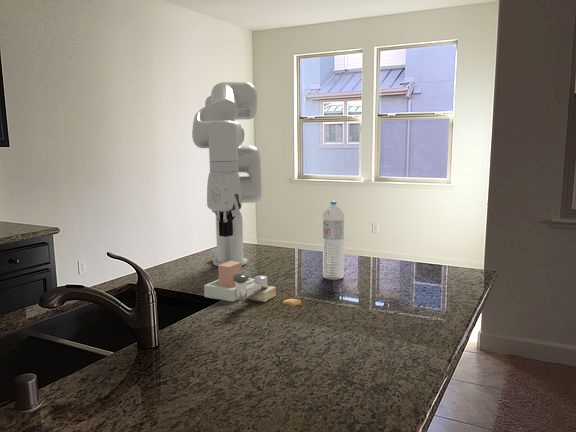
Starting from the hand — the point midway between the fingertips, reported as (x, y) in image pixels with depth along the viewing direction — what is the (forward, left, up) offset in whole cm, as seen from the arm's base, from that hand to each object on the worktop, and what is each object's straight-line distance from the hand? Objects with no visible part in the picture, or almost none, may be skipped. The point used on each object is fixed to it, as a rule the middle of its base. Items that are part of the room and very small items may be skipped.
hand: (226, 235), depth 133 cm
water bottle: (+16, +36, -19) cm, 44 cm away
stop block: (-4, +7, -18) cm, 20 cm away
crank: (+6, +3, -16) cm, 17 cm away
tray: (-4, +7, -19) cm, 21 cm away
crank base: (+10, +8, -19) cm, 23 cm away
